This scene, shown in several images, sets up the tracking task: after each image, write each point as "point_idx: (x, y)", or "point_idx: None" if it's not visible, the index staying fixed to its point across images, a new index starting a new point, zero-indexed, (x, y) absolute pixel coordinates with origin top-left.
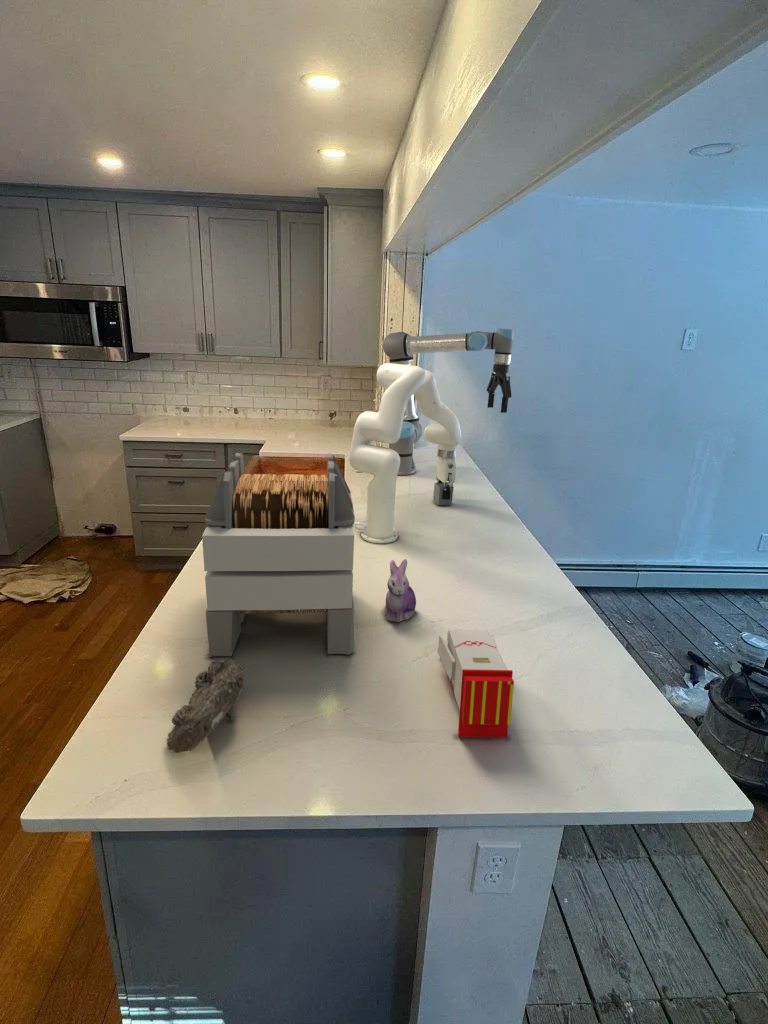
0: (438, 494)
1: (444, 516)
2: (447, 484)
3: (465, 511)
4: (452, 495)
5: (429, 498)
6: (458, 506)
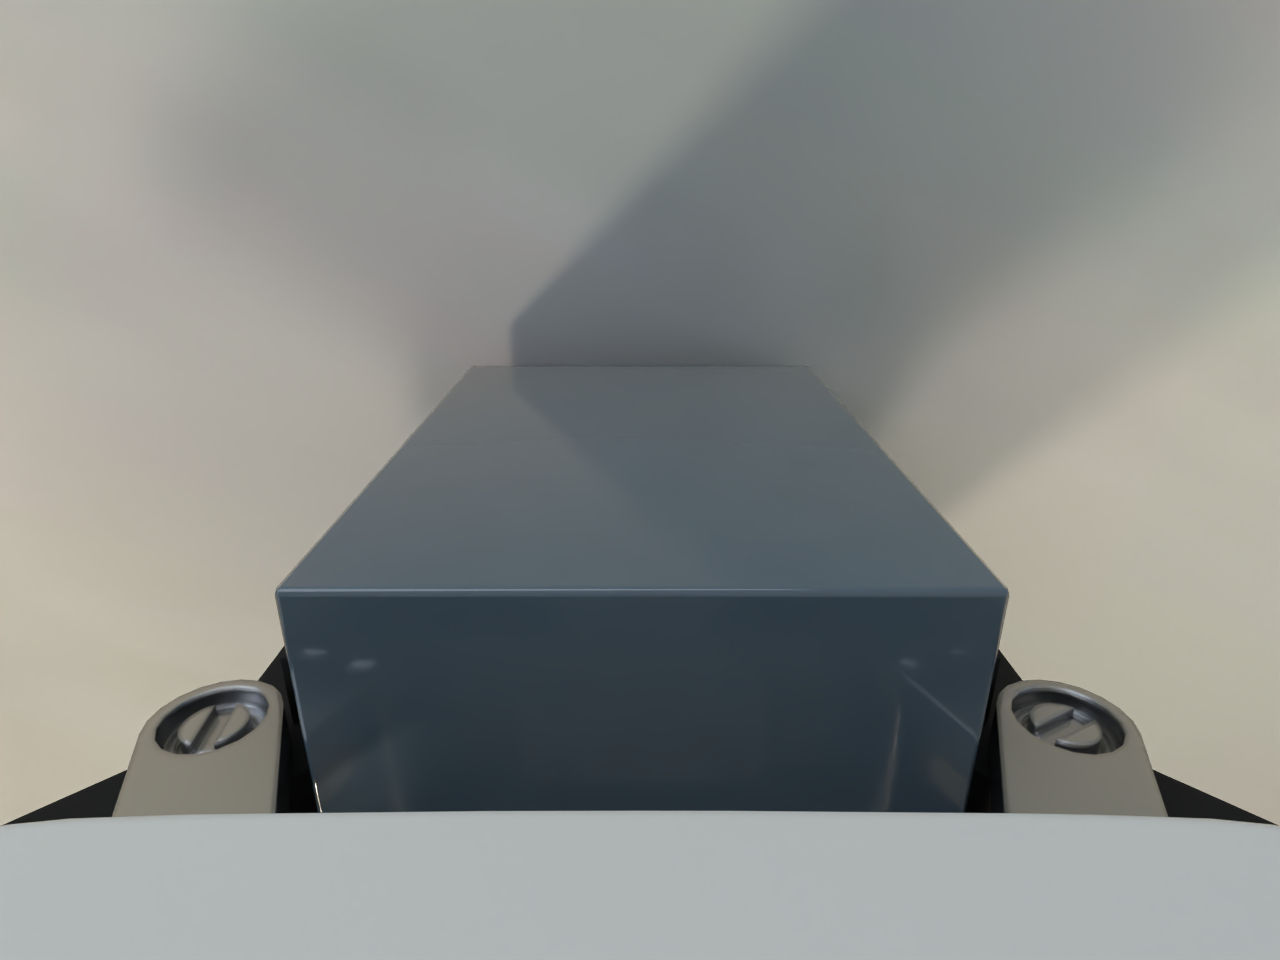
0: None
1: (1277, 705)
2: (627, 736)
3: (1244, 186)
4: (871, 447)
5: (264, 629)
6: (874, 208)
